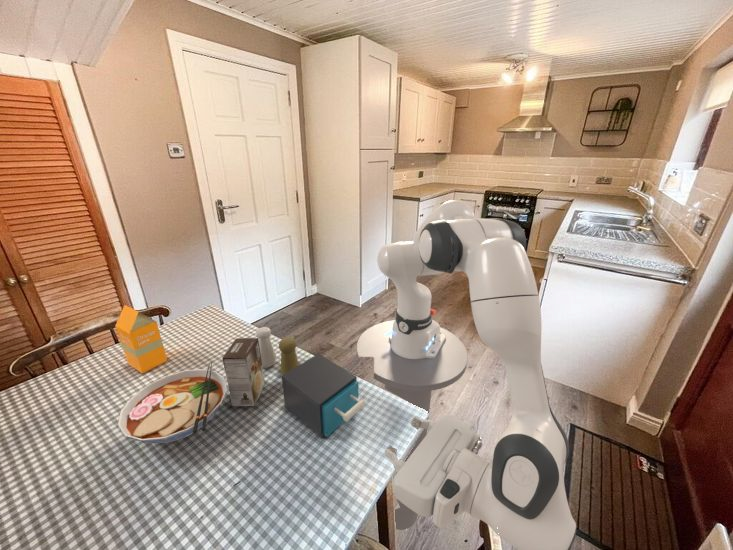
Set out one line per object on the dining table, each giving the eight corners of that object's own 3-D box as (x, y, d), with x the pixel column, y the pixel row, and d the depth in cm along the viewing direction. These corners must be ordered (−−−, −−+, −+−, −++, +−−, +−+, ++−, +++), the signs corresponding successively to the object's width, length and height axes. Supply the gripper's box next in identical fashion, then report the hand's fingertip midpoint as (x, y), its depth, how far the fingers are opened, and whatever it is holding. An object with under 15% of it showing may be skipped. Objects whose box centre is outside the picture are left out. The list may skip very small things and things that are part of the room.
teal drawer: (371, 418, 77) (372, 390, 74) (340, 448, 69) (339, 419, 66) (324, 385, 88) (322, 360, 85) (291, 408, 80) (289, 381, 77)
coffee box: (244, 383, 90) (236, 337, 84) (265, 383, 90) (259, 337, 84) (231, 407, 81) (221, 357, 75) (255, 407, 81) (247, 357, 75)
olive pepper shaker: (277, 375, 93) (273, 345, 89) (285, 362, 99) (281, 334, 95) (295, 377, 92) (292, 347, 88) (302, 364, 98) (300, 335, 94)
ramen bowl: (145, 397, 84) (137, 374, 81) (234, 379, 91) (229, 357, 88) (107, 483, 62) (94, 455, 59) (228, 451, 69) (222, 424, 66)
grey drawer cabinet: (356, 407, 81) (356, 376, 78) (321, 438, 72) (319, 404, 69) (320, 383, 90) (318, 353, 86) (285, 407, 81) (281, 376, 77)
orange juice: (142, 373, 93) (123, 316, 86) (127, 364, 97) (108, 309, 90) (168, 360, 100) (152, 306, 92) (153, 351, 104) (138, 299, 96)
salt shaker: (255, 369, 96) (249, 334, 91) (261, 358, 101) (256, 324, 96) (273, 369, 95) (269, 334, 91) (279, 358, 101) (275, 324, 96)
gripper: (488, 427, 60) (427, 394, 69) (439, 512, 46) (369, 457, 54) (483, 450, 63) (425, 415, 71) (436, 538, 48) (369, 481, 56)
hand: (400, 434), depth 62 cm, fingers open, 8 cm apart
